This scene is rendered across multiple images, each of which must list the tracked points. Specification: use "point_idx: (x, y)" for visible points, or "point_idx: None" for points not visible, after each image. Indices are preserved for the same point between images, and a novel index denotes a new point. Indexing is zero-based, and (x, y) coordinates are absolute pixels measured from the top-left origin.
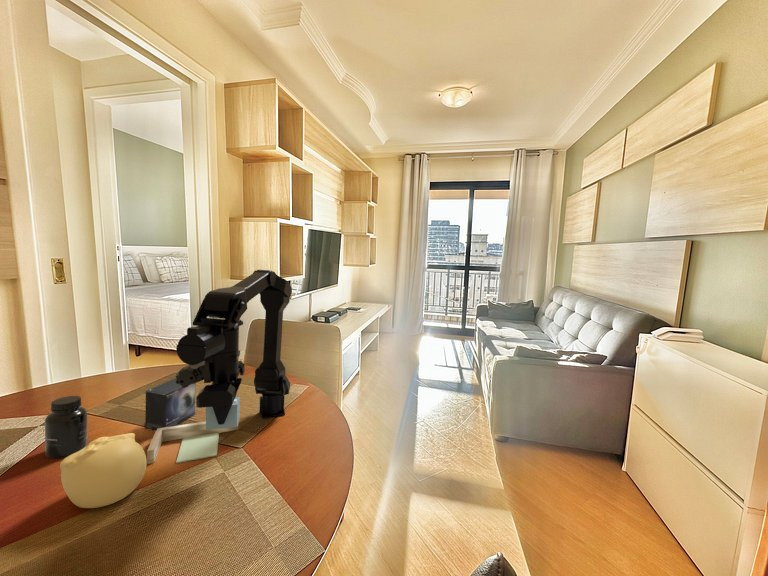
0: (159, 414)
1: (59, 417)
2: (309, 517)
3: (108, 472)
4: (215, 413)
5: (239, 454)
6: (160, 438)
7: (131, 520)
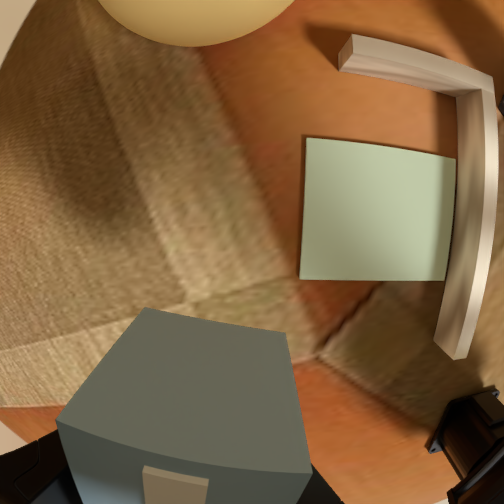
0: None
1: None
2: (21, 418)
3: None
4: (48, 438)
5: None
6: (449, 84)
7: (73, 80)
